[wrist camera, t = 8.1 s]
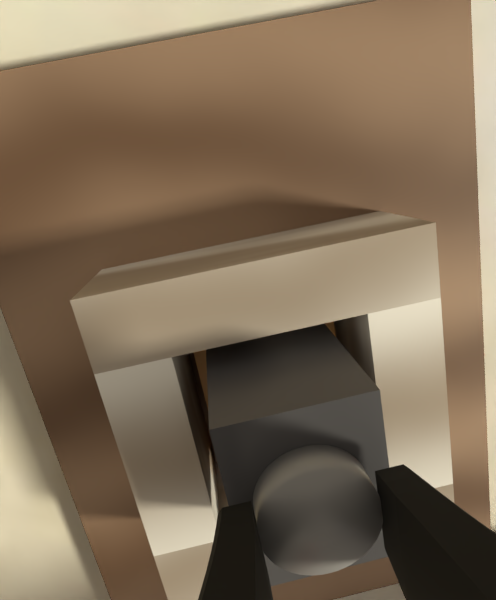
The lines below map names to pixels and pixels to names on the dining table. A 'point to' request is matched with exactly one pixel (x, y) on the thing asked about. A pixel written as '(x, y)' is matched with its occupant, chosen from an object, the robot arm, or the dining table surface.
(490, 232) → the dining table surface
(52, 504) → the dining table surface
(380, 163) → the socket
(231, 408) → the plug
